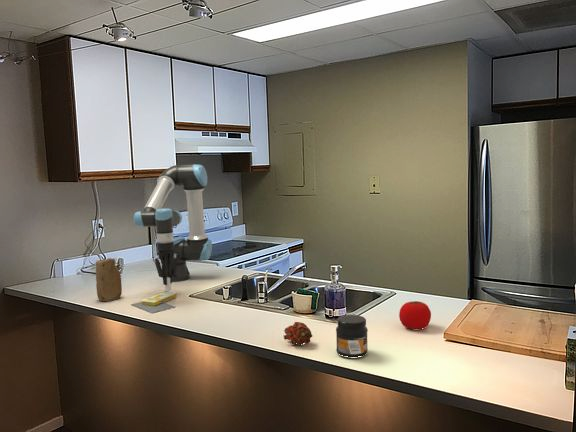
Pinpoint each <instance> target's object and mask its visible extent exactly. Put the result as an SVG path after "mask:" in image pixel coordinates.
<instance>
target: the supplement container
mask: <svg viewBox="0 0 576 432" xmlns="http://www.w3.org/2000/svg"><path fill="white" fill-rule="evenodd" d="M336 321H337V323H336V324H337V326H336V327H335V333H336V334H335V335H336V350H335V351H336V352H337V354H338V355H339V354H340V355H343V356H348V357H358V356H363V355H365V354H366V353H367V354H368V352H369V351H368V332H369V329H368V327H367V318H365V317H364V316H362V315H356V314H344V315H340V316H339V317H338V318H337V320H336ZM367 354H366V355H367ZM340 355H339V356H340ZM366 355H365V356H366ZM363 357H364V356H363Z"/></svg>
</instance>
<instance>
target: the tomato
mask: <svg viewBox="0 0 576 432" xmlns="http://www.w3.org/2000/svg"><path fill="white" fill-rule="evenodd" d="M398 314H399V315H398V318H399V321H400V323H401V325H402V326H403V327H405V328H406V327H407V329H409V328H411V329H410V330H412V329H421V330H423V329H422V328H424V329H426V328H427V327H428V326H429V323H430V322H431V318H432V311H431V309H430V307H429V306H428V304H426V303H425V302H423V301H415V300H413V301H411V300H409V301H407V302H404V304H402V305H401V307H400V309H399V312H398ZM425 327H426V328H425Z"/></svg>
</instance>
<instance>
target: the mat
mask: <svg viewBox="0 0 576 432" xmlns="http://www.w3.org/2000/svg"><path fill="white" fill-rule="evenodd" d="M130 305H131V306H133V307H135V308H138V309H140V310H143V311H145V312H147V313H150V314H155V313H159V312H163V311H168V310H171V308H172V309H175V307H176V306H175V305H172V304H169V303H167V302H163V303H160V304H158V305H155V306H152V305H144V304H141V301H138V302H134V303H131V304H130ZM167 309H168V310H167Z"/></svg>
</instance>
